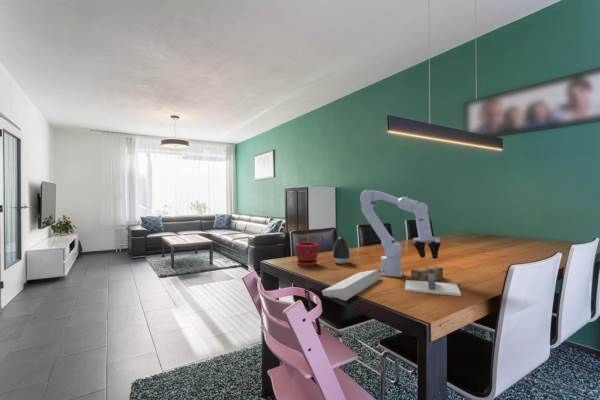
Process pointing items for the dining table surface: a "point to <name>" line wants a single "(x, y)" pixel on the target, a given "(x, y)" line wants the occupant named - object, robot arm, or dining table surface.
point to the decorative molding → (352, 285)
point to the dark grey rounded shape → (341, 251)
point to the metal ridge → (431, 281)
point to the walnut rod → (426, 273)
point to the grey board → (439, 289)
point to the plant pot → (306, 253)
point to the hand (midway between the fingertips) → (429, 258)
